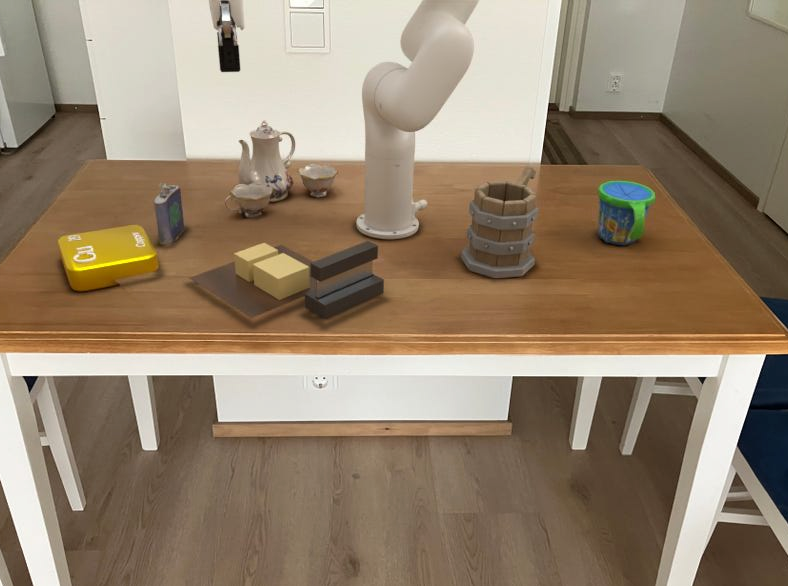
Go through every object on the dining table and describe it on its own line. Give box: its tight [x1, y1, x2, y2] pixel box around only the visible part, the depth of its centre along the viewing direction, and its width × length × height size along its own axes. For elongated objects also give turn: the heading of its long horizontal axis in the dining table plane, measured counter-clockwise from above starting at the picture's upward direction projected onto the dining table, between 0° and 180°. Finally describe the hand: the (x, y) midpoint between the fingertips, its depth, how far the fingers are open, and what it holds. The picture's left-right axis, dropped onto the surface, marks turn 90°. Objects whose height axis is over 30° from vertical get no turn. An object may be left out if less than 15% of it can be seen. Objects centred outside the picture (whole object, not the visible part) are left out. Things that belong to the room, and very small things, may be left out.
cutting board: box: [189, 244, 316, 319], centre depth 135 cm, size 20×18×2 cm
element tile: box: [57, 224, 160, 292], centre depth 138 cm, size 15×15×5 cm
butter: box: [253, 253, 310, 300], centre depth 131 cm, size 6×7×4 cm
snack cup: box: [597, 180, 656, 246], centre depth 152 cm, size 16×11×10 cm
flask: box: [153, 183, 186, 247], centre depth 147 cm, size 9×3×11 cm, turn 172°
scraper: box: [310, 240, 379, 299], centre depth 127 cm, size 12×2×10 cm, turn 134°
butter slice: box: [233, 242, 278, 282], centre depth 135 cm, size 6×4×4 cm, turn 134°
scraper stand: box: [304, 273, 385, 320], centre depth 128 cm, size 13×5×4 cm, turn 134°
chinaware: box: [224, 119, 339, 218], centre depth 163 cm, size 28×17×17 cm, turn 139°
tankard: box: [460, 165, 539, 279], centre depth 143 cm, size 20×13×15 cm, turn 147°
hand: (229, 64), depth 128 cm, fingers open, 9 cm apart
